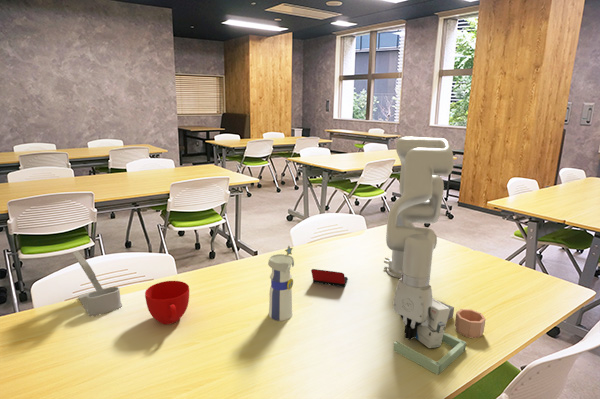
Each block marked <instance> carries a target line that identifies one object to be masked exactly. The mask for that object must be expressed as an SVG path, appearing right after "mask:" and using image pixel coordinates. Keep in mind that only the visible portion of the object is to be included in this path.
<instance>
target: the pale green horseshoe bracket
mask: <svg viewBox="0 0 600 399" xmlns="http://www.w3.org/2000/svg"><path fill="white" fill-rule="evenodd" d="M441 343H444V344H446V345H448V346H450V347H452V349H450V350H449V351H448V352H447V353H446V354H444V355H443V356H442V357H441V358H439V359H438V361H436V360H433V359H432V358H430V357H428V356H426V355H424V354H423V353H420V352H419V351H417V350H415V349H413V348H411V347H409V346H407V345H405V344H404V343H402V342H400V341H398V340H395V341H394V342H393V348H392V349H393V351H394V352H396V353H397V354H399V355H401V356H403V357H405V358H406V359H408V360H410V361H412V362H414V363H415V364H416V365H417V364H418V365H419V366H421V367H422V368H425V369H427V370H428V371H431V372H432V373H434V374H436V375H437V376H438V375H440V374H441V373H442V372H443V371H444V370H445V369H446V368H448V367H449V365H451V364H452V363H453V362H454V361H455V360H457V358H458V357H459V356H461V355H462V354H463V353H464V352H465V351H466V348H467V342H466V341H465V340H462V339H460V338H458V337H456V336H453V335H452V334H449V333H447V332H445V331H444V334H443V338H442V342H441Z"/></svg>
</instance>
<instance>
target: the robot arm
mask: <svg viewBox="0 0 600 399" xmlns="http://www.w3.org/2000/svg"><path fill="white" fill-rule="evenodd" d="M450 144H451V143H450V142H449V140H448V139H446V138H442V137H423V136H420V137H419V136H403V137H400V138H398V139H397V140H396V143H395V150H396V153H397V156H398V158H399V161H400V165H401V166H400V175H399V185H398V187H399V188H398V190H399V191H398V192H399V194H400V195H401V196H400V197H399V198H396V199H395V201H394V202H393V205H392V206H391V207H390V209H389V212H388V215H387V221H386V232H385V241H386V246H387V248H388V249H389V250H391V258H390V257H389V256H385V257H384V260H383V263H385V264H387V265H388V266H387V268H386V272H387V274H388V275H389V276H391V277H393V278H396V279H398V281H397V283H396V287H395V291H394V296H393V297H394V298H393V303H392V308H393V311H394V312H395V313H396V314H397V315H399V316H400V317H401V319H402V320H403V325H404V331H403V332H404V338H405V339H407V340H408V341H411V340H412V339H415V336H416V334H417V326H419V325H422V326H429V325H430V319H429V318H431V314H432V298H433V290H432V286H431V285H430V280H431V271H432V261H433V254H434V250H435V249H436V247H437V243H438V238H437V237H438V236H437V234H436V232H435V231H434V230H433V229H431V228H427V227H419V226H415V225H414V223H417V224H435V223H437V222H438V221H439V218H440V215H441V208H442V202H443V198H444V197H443V196H444V190H445V189H444V186H445V184H444V179H443V178H442V176H444V177H446V176H449V175H451V174H452V172H453V169H454V164H455V163H454V162H455V160H454V159H455V158H454V154H453V153H454V151H453V150H452V147H451V145H450Z"/></svg>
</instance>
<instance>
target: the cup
mask: <svg viewBox="0 0 600 399" xmlns="http://www.w3.org/2000/svg"><path fill="white" fill-rule="evenodd" d="M485 324H486V317H485V316H484V315H483V314H482V312H479V311H477V310H474V309H472V308H471V309H470V308H468V309H467V308H460V309H459V310H458V311H456V312H455V321H454V327H455V328H454V329H455V331H456V332H457V334H459V335H460V336H463V337H466V338H469V339H479V338H481V337H482V336H483V333H484V332H485V327H486V326H485Z"/></svg>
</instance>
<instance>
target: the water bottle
mask: <svg viewBox="0 0 600 399" xmlns="http://www.w3.org/2000/svg"><path fill="white" fill-rule="evenodd" d="M293 249H294V247H290V245H287V248H286V249H285V250H284V252H286V254H284V253H283V254H282V253H281V254H279V253H278V254H273V255H271V256H270V257H269V259H268V264H267V265H268V266H269V267H270V268H271V273H270V275H269V279H270V287H269V300H268V301H269V306H268V307H269V308H268V317H269V318H270V319H272V320H274V321H287V320H289V319H291V318H292V316H293V289H292V287H293V285H294V279H293V275H292V274H291V271H290V270H291V267H292V268H294V266H295V261H294V257H293V256H291V255H292V254H293V253H292V250H293Z"/></svg>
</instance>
